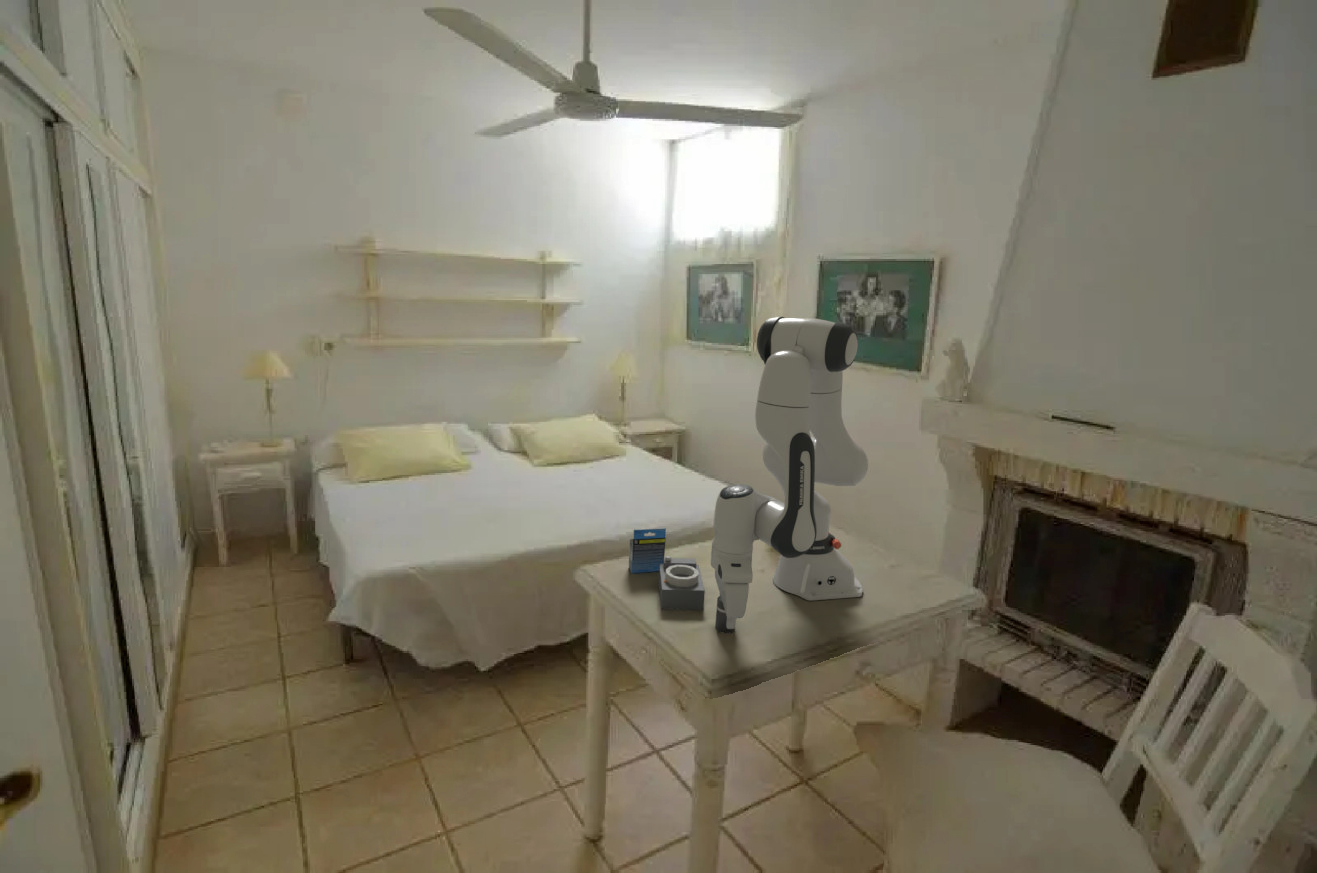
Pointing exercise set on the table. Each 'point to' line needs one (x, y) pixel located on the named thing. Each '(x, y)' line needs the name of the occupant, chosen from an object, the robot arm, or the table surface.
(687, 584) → the camera body
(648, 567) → the label tape box
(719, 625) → the lens
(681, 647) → the table surface
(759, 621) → the table surface
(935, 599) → the table surface
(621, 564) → the table surface
